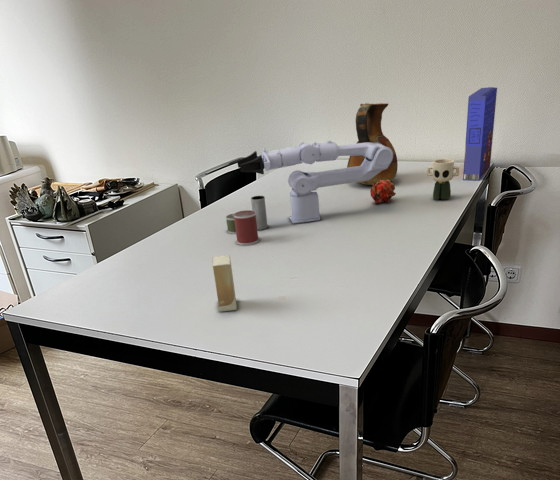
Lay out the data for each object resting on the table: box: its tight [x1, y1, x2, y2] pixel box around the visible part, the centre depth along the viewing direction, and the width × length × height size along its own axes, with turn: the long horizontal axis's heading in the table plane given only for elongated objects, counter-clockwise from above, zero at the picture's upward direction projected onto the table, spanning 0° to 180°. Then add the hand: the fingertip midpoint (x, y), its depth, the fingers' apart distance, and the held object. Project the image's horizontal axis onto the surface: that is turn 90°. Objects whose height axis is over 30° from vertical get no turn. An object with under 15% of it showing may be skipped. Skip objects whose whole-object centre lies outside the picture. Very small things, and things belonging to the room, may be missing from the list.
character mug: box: [426, 158, 460, 200], centre depth 208 cm, size 11×7×13 cm, turn 66°
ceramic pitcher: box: [346, 102, 399, 186], centre depth 230 cm, size 20×20×30 cm
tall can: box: [234, 209, 260, 246], centre depth 187 cm, size 7×7×9 cm
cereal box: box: [462, 86, 498, 181], centre depth 229 cm, size 22×6×30 cm, turn 152°
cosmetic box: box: [211, 254, 238, 313], centre depth 145 cm, size 6×4×12 cm
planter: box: [250, 195, 269, 231], centre depth 198 cm, size 4×4×10 cm
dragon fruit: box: [369, 179, 396, 205], centre depth 212 cm, size 8×8×12 cm
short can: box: [225, 212, 236, 235], centre depth 199 cm, size 7×7×5 cm
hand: (239, 166), depth 192 cm, fingers open, 7 cm apart
